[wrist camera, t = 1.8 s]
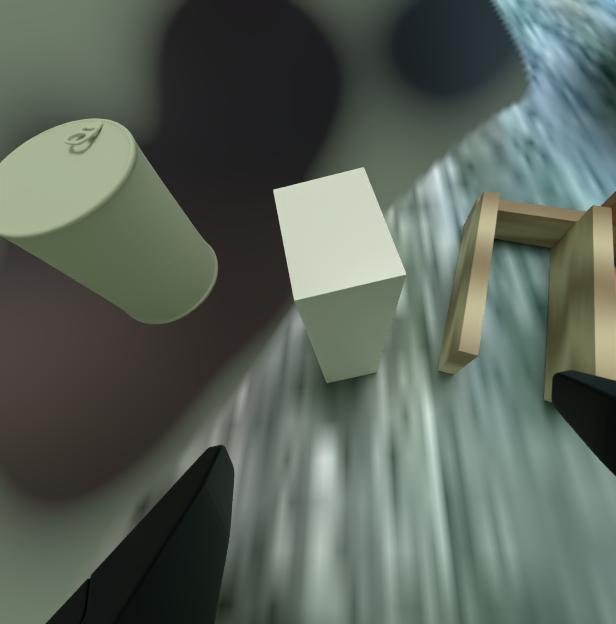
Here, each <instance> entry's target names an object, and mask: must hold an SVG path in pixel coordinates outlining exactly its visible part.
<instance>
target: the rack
mask: <svg viewBox="0 0 616 624" xmlns="http://www.w3.org/2000/svg"><path fill="white" fill-rule="evenodd" d="M499 197H500V193H495V192H487V191H484V192H483V194H482V196H481V197H478V198H477V200H476V202H475V204H474V206H473V208H472V210H471V212H470V214H469V216H468V218H467V220H466V222H465V224H464V229H463V235H462V240H461V246H460V251H459V257H458V262H457V268H456V273H455V279H454V284H453V290H452V295H451V301H450V306H449V312H448V317H447V323H446V328H445V334H444V339H443V345H442V350H441V356H440V361H439V367H438V370H439V371H442V372H446V373H449V374H453V375H454V374H455V373H456V372H457V371H459V370H460V369H461V368H463V367H464V366H465V365H467V364H468V363H469V362H471V361H472V360H473V359H475V358H476V357H477V356H478V355H479V347H480V340H481V332H482V325H483V317H484V310H485V302H486V295H487V287H488V280H489V272H490V264H491V257H492V249H493V242H494V239H499V240H505V241H511V242H517V243H523V244H529V245H535V246H541V247H547V248H551V257H550V279H549V300H548V322H547V344H546V366H545V387H544V400H545V401H549V402H552V400H551V392H552V377H553V375H554V374H555V373H557V372H562V371H566V370H575V371H579V372H583V373H587V374H591V375H595V376H599V377H604V378H608V379H612V380H616V267H614V259H616V192H615V193H614V194H613V195H612V196H611V197H610V198H608V199H607V200H606V201H605V202H604V203H603V204H602V205H601V206H594V205H593V206H592V207H591V208H590V209H589V210H588V211H587V212H584V211H577V210H570V209H562V208H555V207H548V206H541V205H533V204H526V203H519V202H511V201H504V200H499Z"/></svg>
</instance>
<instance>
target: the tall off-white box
mask: <svg viewBox="0 0 616 624" xmlns="http://www.w3.org/2000/svg"><path fill="white" fill-rule="evenodd" d="M273 191H274V196H275V202H276V207H277V212H278V217H279V222H280V227H281V232H282V238H283V243H284V249H285V253H286V259H287V264H288V269H289V275H290V279H291V285H292V290H293V295H294V301H295V303H296V306H297V308H298V311H299V313H300V316H301V319H302V321H303V324H304V326H305V329H306V331H307V334H308V337H309V339H310V342H311V344H312V347H313V349H314V352H315V355H316V357H317V360H318V362H319V365H320V367H321V370H322V373H323V375H324V378H325V380H326V383H331V382H336V381H340V380H345V379H349V378H354V377H358V376H363V375H367V374H372V373H376V372H377V370H378V367H379V363H380V360H381V357H382V353H383V350H384V347H385V343H386V340H387V337H388V333H389V330H390V327H391V324H392V320H393V317H394V314H395V310H396V307H397V304H398V300H399V297H400V294H401V290H402V287H403V284H404V281H405V277H406V272H405V270H404V267H403V265H402V262H401V260H400V257H399V255H398V252H397V250H396V247H395V245H394V242H393V240H392V237H391V235H390V232H389V230H388V227H387V225H386V222H385V220H384V217H383V214H382V212H381V209H380V207H379V205H378V202H377V200H376V197H375V194H374V192H373V190H372V187H371V184H370V182H369V179H368V177H367V174H366V172H365V169H364V168H359V169H355V170H351V171H347V172H343V173H339V174H335V175H331V176H327V177H323V178H319V179H315V180H311V181H307V182H303V183H299V184H295V185H291V186H287V187H283V188H279V189H275V190H273Z"/></svg>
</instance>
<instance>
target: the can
mask: <svg viewBox="0 0 616 624" xmlns="http://www.w3.org/2000/svg"><path fill="white" fill-rule="evenodd" d="M0 236H2V237H4V238H6V239H7V240H9V241H11V242H13V243H14V244H16V245H18V246H20V247H21V248H23V249H25V250H27V251H28V252H30V253H31V254H33V255H35V256H36V257H38V258H40V259H41V260H43V261H45V262H46V263H48V264H50V265H51V266H53V267H55V268H57V269H58V270H60V271H61V272H63V273H65V274H66V275H68V276H70V277H71V278H73V279H74V280H76V281H78V282H79V283H81V284H83V285H84V286H86V287H88V288H89V289H91V290H92V291H94V292H96V293H97V294H99V295H101V296H102V297H104V298H105V299H107V300H108V301H110V302H112V303H113V304H115V305H117V306H118V307H119V308H121V309H122V310H124V311H125V312H127V314H128V315H129V316H131V317H132V318H133V319H135V320H137V321H140V322H143V323H146V324H165V323H170V322H173V321H176V320H179V319H181V318H183V317H185V316H187V315H188V314H190V313H191V312H193V311H194V310H195V309H197V308H198V307H199V306H200V305H201V304H202V303H203V302H204V301H205V300H206V298H207V297H208V296H209V294H210V293H211V291H212V289H213V287H214V285H215V282H216V279H217V275H218V262H217V257H216V255H215V253H214V251H213V249H212V248H211V247H210V246H209V245H208V244H207V243H206V242H205V241H204V239H203V238H202V237H201V235H200V234H199V233H198V231H197V230H196V229H195V227H194V226H193V224H192V223H191V222H190V220H189V219H188V217H187V216H186V215H185V214H184V212H183V210H182V209H181V208H180V206H179V205H178V203H177V202H176V201H175V199H174V198H173V196H172V195H171V194H170V192H169V191H168V189H167V188H166V186H165V185H164V183H163V182H162V181H161V179H160V178H159V176H158V175H157V173H156V172H155V170H153V168H152V166H151V165H150V164H149V162H148V160H147V159H146V157H145V156H144V155H143V153H142V151H141V150H140V148H139V147H138V145H137V144H136V142H135V140H134V138H133V136H132V135H131V133H130V132H129V131H128V130H127V129H126V128H125V127H124V126H122V125H120V124H118V123H116V122H114V121H110V120H105V119H84V120H78V121H73V122H69V123H65V124H62V125H59V126H56V127H54V128H51V129H49V130H47V131H45V132H43V133H41V134H39V135H37V136H35V137H33V138H32V139H30V140H28V141H27V142H25V143H24V144H23V145H21V146H20V147H18V148H17V149H16V150H14V151H13V152H12V153H11V154H9V155H8V156H7V157H6V158H5V159H4V160H3V161H2V162H1V163H0Z"/></svg>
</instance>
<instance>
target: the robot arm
mask: <svg viewBox="0 0 616 624" xmlns="http://www.w3.org/2000/svg"><path fill="white" fill-rule="evenodd" d="M551 400H552V403H553V405H554V407H555V409H556V410H557V411H558V412H559V413H560V414H561V416H562V417H563V418H564V419H565V420H566V421H567V423H568V424H569V425H570V426H571V427H572V428H573V430H574V431H575V432H576V433H577V434H578V435H579V437H580V438H581V439H582V440H583V441H584V442H585V444H586V445H587V446H588V447H589V448H590V449H591V451H592V452H593V453H594V454H595V455H596V456H597V457H598V458H599V460H600V461H601V462H602V463H603V464H604V465H605V466H606V467H607V468H608V469H609V470H610V471H611V472H612V473H613V474H614V475H615V476H616V380H612V379H608V378H604V377H599V376H595V375H591V374H587V373H583V372H579V371H575V370H566V371H562V372H557V373H555V374H554V375H553V377H552V392H551ZM233 488H234V467H233V464H232V462H231V460H230V457H229V455H228V452H227V450H226V448H225V446H224V445H217V446H213V447H209V448H208V449H207V450H206V451H205V452H204V453H203V454H202V455H201V456H200V457H199V458H198V459H197V460H196V462H195V463H194V464H193V465H192V466H191V467H190V468H189V469H188V470H187V471H186V472H185V473H184V475H183V476H182V477H181V478H180V479H179V480H178V481H177V482H176V483H175V484H174V485H173V486H172V488H171V489H170V490H169V491H168V492H167V493H166V494H165V495H164V496H163V497H162V498H161V500H160V501H159V502H158V503H157V504H156V505H155V506H154V507H153V508H152V509H151V510H150V511H149V513H148V514H147V515H146V516H145V517H144V518H143V519H142V520H141V521H140V522H139V523H138V525H137V526H136V527H135V528H134V529H133V530H132V531H131V532H130V533H129V534H128V535H127V536H126V538H125V539H124V540H123V541H122V542H121V543H120V544H119V545H118V546H117V547H116V548H115V550H114V551H113V552H112V553H111V554H110V555H109V556H108V557H107V558H106V559H105V560H104V561H103V563H102V564H101V565H100V566H99V567H98V568H97V569H96V570H95V571H94V572H93V573H92V575H91V577H90V579H87V580H86V581H85V582H84V583H83V584H82V585H81V586H80V587H79V588H78V590H77V591H76V592H75V593H74V594H73V595H72V596H71V597H70V598H69V599H68V600H67V601H66V602H65V604H64V605H63V606H62V607H61V608H60V609H59V610H58V611H57V612H56V613H55V614H54V615H53V616H52V617H51V618H50V619H49V620H48V622H47V623H46V624H215V618H216V612H217V607H218V601H219V595H220V589H221V584H222V578H223V572H224V567H225V561H226V555H227V549H228V543H229V537H230V527H231V514H232V501H233Z"/></svg>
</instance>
